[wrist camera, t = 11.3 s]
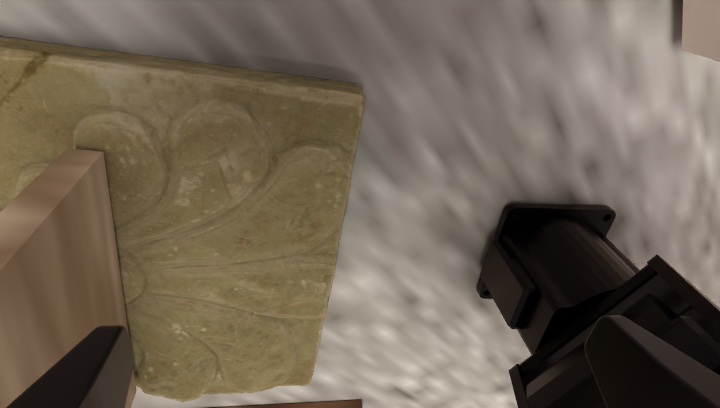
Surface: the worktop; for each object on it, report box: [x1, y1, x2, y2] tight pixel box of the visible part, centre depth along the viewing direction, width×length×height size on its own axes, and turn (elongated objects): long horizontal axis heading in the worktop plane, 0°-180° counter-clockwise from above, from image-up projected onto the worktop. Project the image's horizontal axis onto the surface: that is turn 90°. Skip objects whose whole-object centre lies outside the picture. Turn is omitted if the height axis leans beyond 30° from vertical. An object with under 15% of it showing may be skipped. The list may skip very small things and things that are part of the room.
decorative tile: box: [0, 36, 365, 402], centre depth 21 cm, size 19×20×4 cm
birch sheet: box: [0, 148, 136, 408], centre depth 15 cm, size 1×14×10 cm, turn 170°
